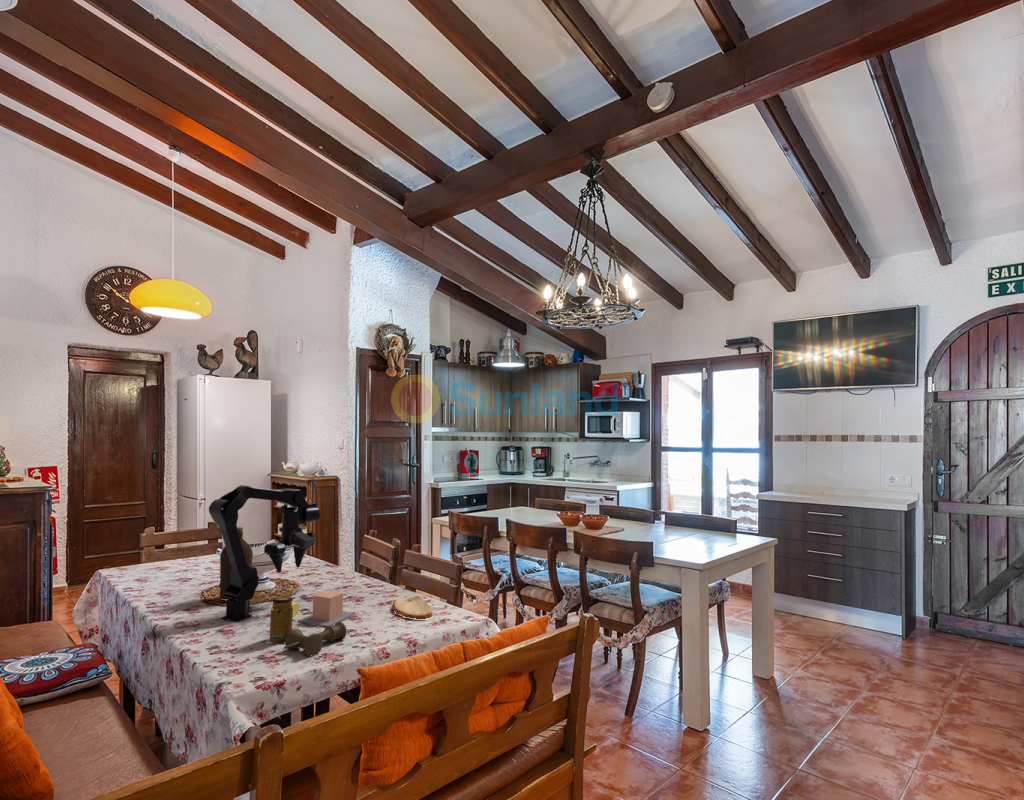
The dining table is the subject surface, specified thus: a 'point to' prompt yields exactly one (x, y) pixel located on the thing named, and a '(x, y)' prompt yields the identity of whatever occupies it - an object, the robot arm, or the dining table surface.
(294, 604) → the yellow block
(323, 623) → the grey panel
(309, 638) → the kendama
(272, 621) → the condiment
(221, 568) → the olive oil
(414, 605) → the slice of bread
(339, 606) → the salmon cube
